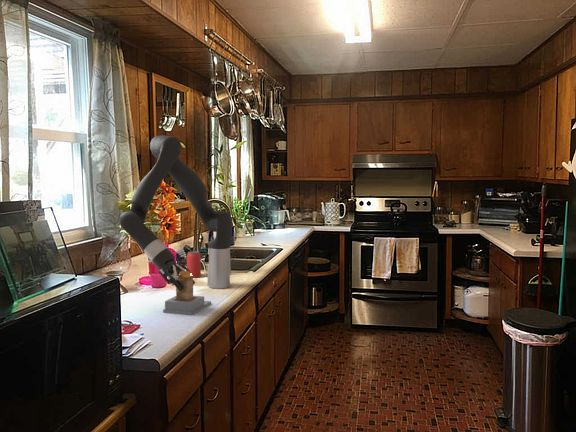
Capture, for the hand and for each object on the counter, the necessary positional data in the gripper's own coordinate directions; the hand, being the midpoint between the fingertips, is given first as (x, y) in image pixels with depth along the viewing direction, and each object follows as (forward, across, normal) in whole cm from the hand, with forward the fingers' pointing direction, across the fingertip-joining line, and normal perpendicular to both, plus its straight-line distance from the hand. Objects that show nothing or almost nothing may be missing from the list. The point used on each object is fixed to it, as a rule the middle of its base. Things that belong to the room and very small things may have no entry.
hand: (188, 287), depth 187 cm
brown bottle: (+4, 0, +6) cm, 8 cm away
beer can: (-11, +54, +23) cm, 60 cm away
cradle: (+5, +2, +7) cm, 9 cm away
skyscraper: (-3, +64, +16) cm, 66 cm away
